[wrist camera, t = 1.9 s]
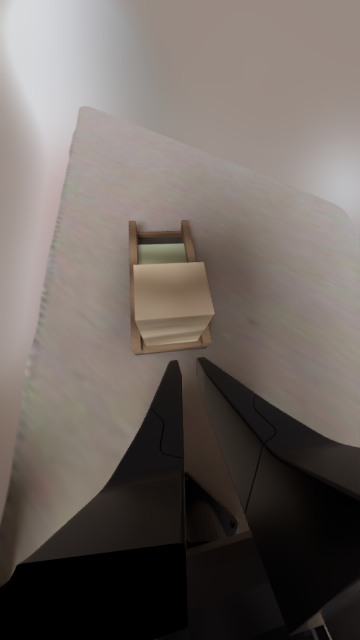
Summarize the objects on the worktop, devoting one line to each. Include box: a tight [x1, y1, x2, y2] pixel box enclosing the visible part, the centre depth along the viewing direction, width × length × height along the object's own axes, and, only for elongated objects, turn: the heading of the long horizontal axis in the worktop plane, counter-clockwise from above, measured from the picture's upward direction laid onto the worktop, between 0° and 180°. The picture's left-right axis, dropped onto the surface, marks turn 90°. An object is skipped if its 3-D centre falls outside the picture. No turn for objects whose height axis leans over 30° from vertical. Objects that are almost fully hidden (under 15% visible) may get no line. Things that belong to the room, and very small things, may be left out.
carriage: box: [133, 262, 215, 346], centre depth 17 cm, size 5×6×8 cm
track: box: [129, 220, 212, 355], centre depth 24 cm, size 20×9×3 cm, turn 7°
